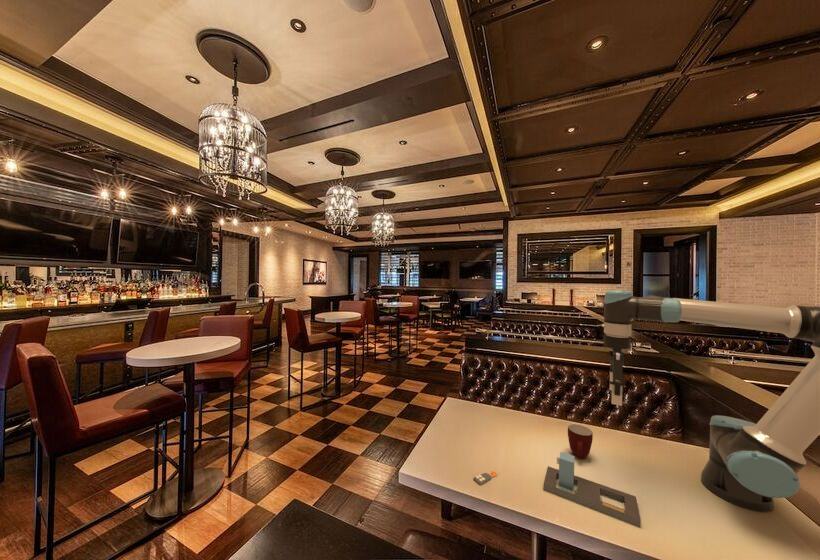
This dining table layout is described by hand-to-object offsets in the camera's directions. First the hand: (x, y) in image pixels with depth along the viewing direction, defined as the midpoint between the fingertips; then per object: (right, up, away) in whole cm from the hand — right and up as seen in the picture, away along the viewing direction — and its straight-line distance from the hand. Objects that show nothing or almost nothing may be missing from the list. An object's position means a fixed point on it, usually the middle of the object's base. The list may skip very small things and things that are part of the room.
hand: (615, 397), depth 97 cm
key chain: (-43, -27, -1) cm, 51 cm away
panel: (-15, -27, -10) cm, 32 cm away
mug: (-7, -27, +9) cm, 29 cm away
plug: (-20, -27, -6) cm, 34 cm away
